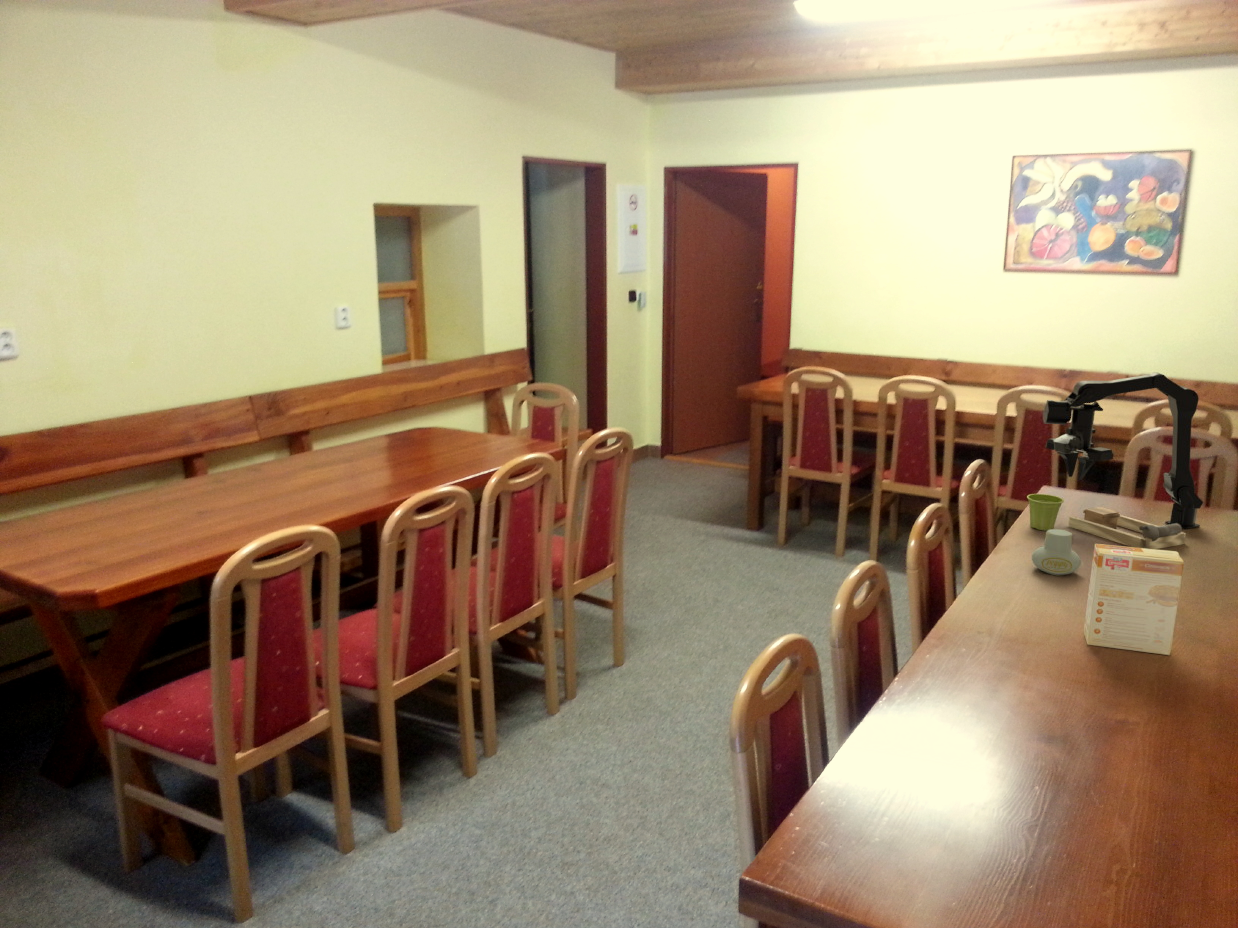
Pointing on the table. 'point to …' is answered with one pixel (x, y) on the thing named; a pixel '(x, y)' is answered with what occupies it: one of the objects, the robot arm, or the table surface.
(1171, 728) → the table surface
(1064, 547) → the air freshener
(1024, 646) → the table surface
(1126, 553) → the coffeecake box
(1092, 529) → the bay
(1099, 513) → the box
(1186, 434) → the robot arm
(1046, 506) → the plant pot
